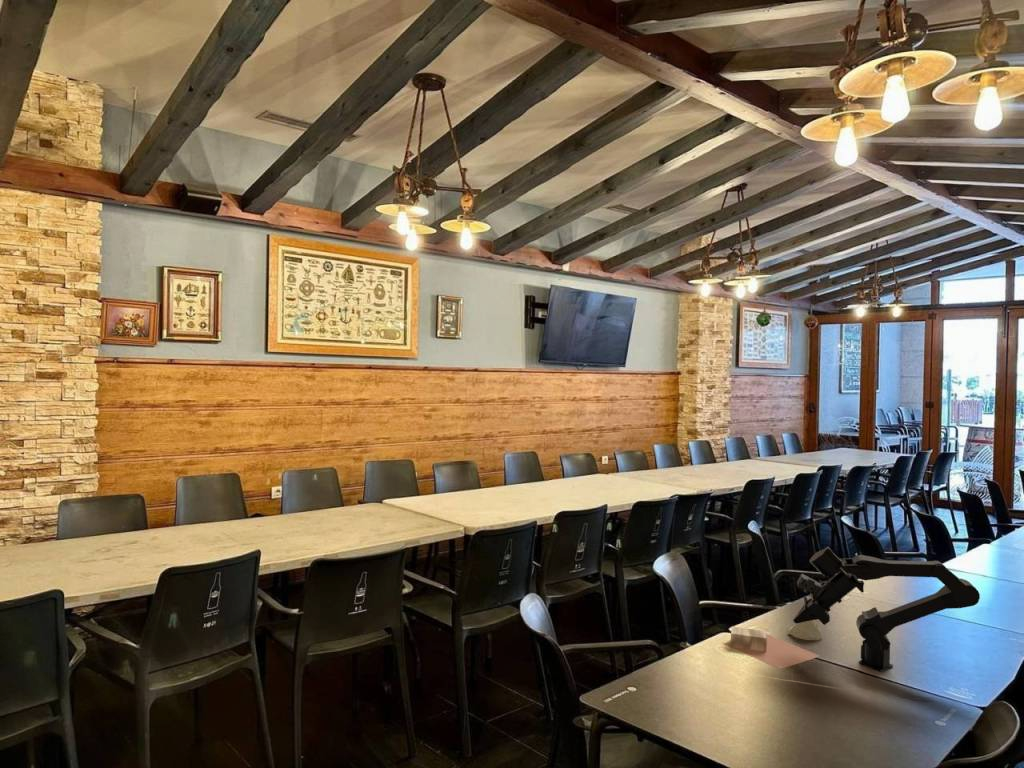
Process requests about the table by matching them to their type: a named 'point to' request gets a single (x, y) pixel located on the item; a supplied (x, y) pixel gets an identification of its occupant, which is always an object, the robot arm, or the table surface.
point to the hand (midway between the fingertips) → (794, 621)
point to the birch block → (749, 639)
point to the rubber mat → (779, 653)
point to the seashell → (806, 630)
